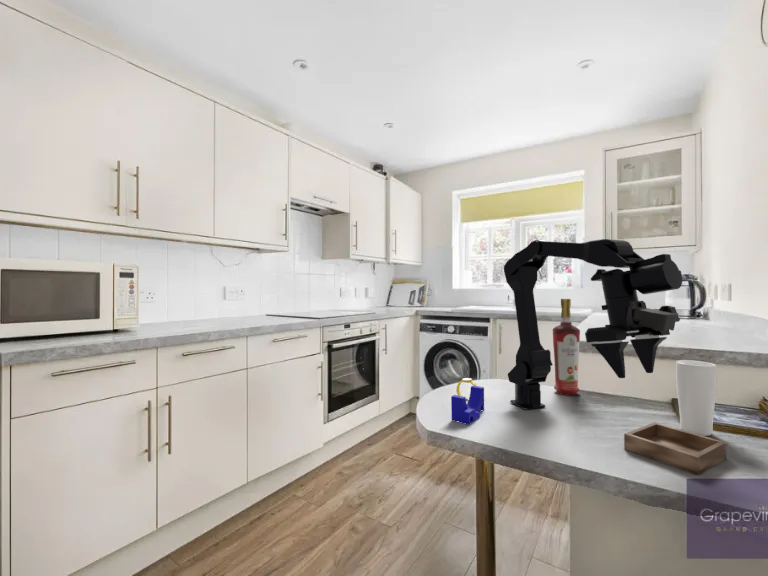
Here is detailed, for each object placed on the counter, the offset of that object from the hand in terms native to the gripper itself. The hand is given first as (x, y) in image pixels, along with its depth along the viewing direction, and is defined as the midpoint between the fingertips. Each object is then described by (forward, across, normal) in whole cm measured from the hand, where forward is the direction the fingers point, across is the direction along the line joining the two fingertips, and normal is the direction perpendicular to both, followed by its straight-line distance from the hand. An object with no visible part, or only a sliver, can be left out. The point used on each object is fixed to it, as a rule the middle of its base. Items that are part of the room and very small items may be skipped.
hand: (636, 375), depth 73 cm
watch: (+7, -11, +41) cm, 43 cm away
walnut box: (+15, +2, -3) cm, 15 cm away
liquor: (+8, +19, +33) cm, 38 cm away
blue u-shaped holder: (+9, -18, +30) cm, 37 cm away
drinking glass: (+14, +18, +1) cm, 23 cm away
